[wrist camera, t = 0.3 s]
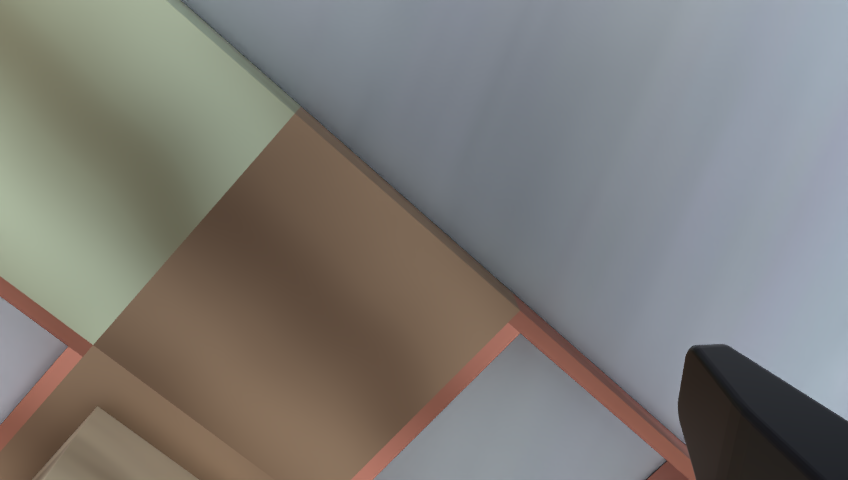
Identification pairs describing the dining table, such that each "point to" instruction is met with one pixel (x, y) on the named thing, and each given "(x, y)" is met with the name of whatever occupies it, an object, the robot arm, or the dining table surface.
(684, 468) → the trap deck
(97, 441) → the birch block
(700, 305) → the dining table surface
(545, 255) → the dining table surface
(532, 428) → the dining table surface
